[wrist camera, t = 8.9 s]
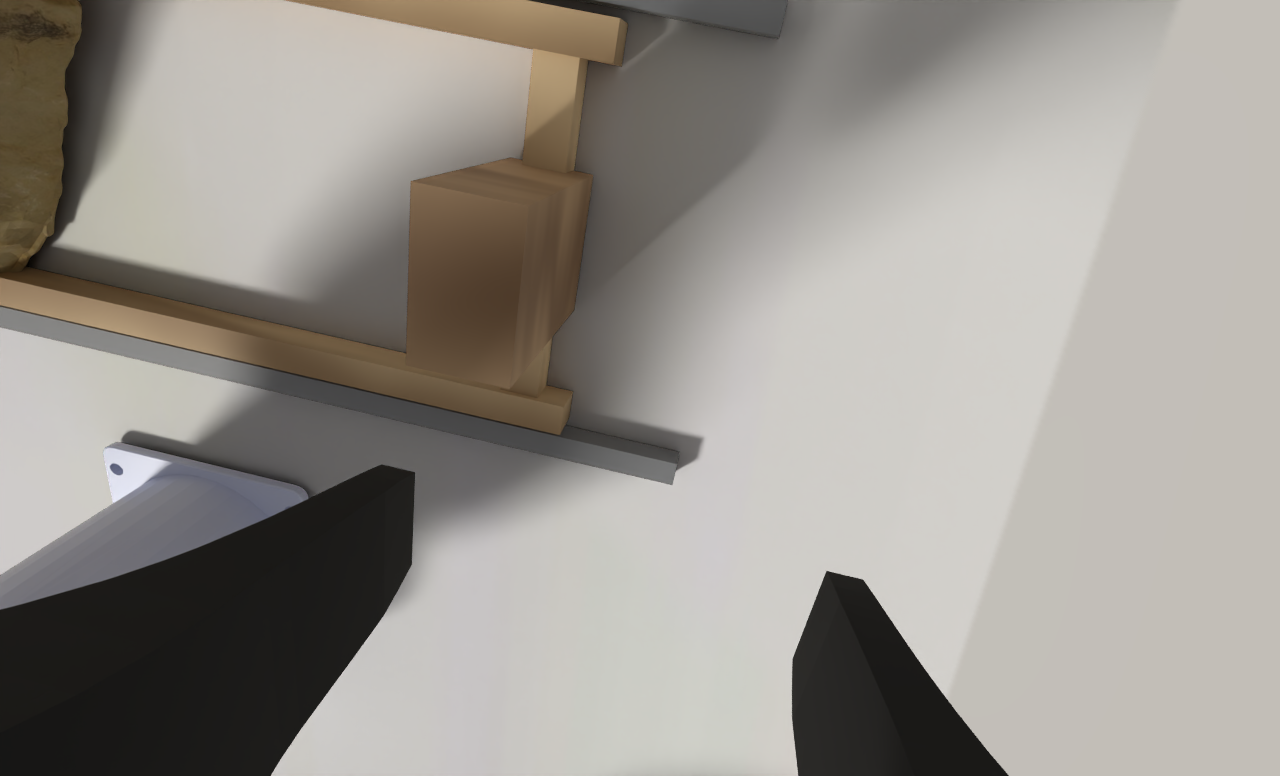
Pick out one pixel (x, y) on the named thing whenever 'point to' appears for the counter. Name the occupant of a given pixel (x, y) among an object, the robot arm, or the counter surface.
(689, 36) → the counter surface
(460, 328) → the oak sled
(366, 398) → the rails
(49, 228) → the rock
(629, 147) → the counter surface
